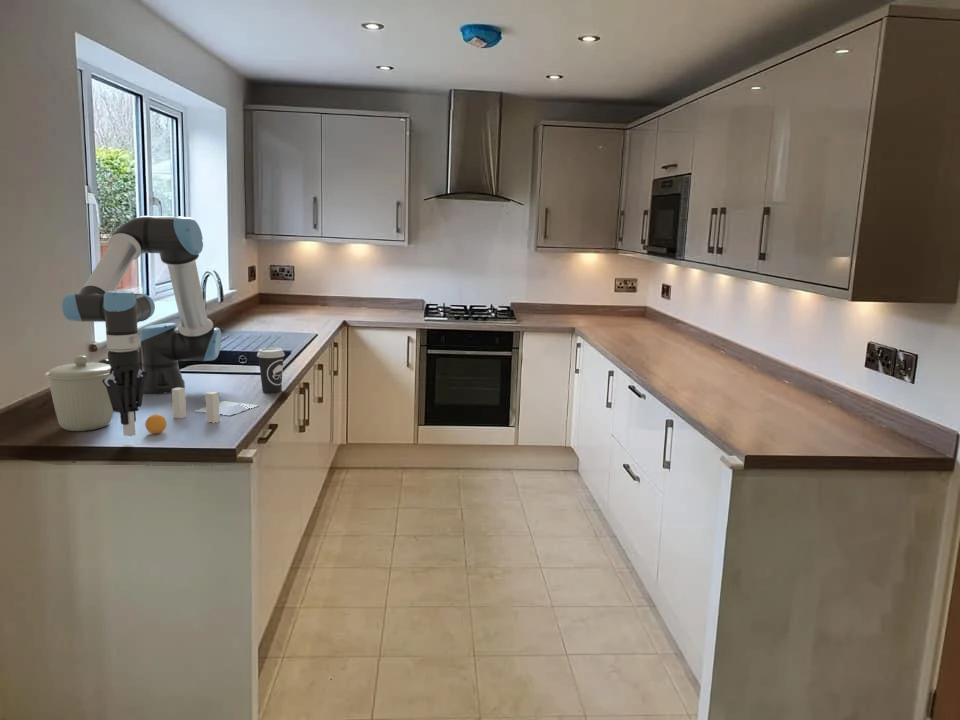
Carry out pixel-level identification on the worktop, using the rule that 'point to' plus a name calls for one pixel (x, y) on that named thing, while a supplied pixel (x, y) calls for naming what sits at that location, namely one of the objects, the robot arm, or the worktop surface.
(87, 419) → the canister
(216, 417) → the post
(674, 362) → the worktop surface
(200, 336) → the robot arm
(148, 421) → the ball
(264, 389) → the coffee cup
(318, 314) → the worktop surface
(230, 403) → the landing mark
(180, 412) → the post
